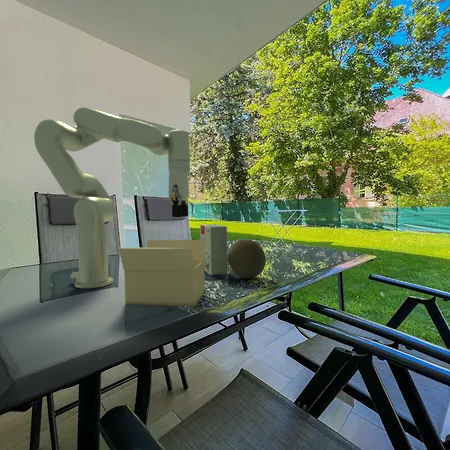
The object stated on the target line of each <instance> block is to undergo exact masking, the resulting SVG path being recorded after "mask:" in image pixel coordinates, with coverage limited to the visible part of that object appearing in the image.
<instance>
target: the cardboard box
mask: <svg viewBox="0 0 450 450" xmlns="http://www.w3.org/2000/svg"><path fill="white" fill-rule="evenodd" d="M193 266H194V271H156V270H124V292H125V293H124V295H125V305H138V306H139V305H142V306H145V305H146V306H167V307H168V306H170V307H171V306H172V307H173V306H174V307H177V306H178V307H195V306H196V305H197V303H199V301H200V300H201V298H202V296H203V294H204V293H205V289H206V288H205V287H206V284H205V283H206V282H205V276H206V275H205V270H204V261H193Z"/></svg>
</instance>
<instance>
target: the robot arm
mask: <svg viewBox="0 0 450 450" xmlns="http://www.w3.org/2000/svg"><path fill="white" fill-rule="evenodd" d="M73 122H74V124H75V127H74V128H73V127H71V126H69V125H67V124H66V123H65V122H64V123H63V122H62V121H59V120H55V119H44V120H42V121H40V122H39V123H38V124H37V126H36V128H35V129H34V130H35V131H34V134H33V136H34V137H33V139H34V140H33V141H34V147H35V149H36V151H37V153H38V155H39V156H40V159H42V161H43V162H44V163H45V165H46V166H47V168H48V169H49V171H50V172H51V174H52V176H53V177H54V179H55V180H56V182H57V183H58V185H59V186H60V188H61V189H62V191H63V192H64V194H65V195H66V196H68V197H70V198H75V199H78V200H77V201H76V203H75V204H74V206H73V217H74V221H75V225H76V230H77V231H76V235H77V250H78V251H77V253H78V254H77V255H78V271H77V272H76V271H75V272H74V271H73V272H72V273H71V274H70V276H69V277H70V279H76V281H75V282H74V287H75V288H78V289H95V288H101V287H106V286H108V285H111V284H112V283H113V282H114V278H113V277H111V276H109V255H108V234H107V233H108V232H107V228H106V225H105V223H108V222H110V221H112V220H113V219H114V218H115V216H116V213H117V209H116V205H115V202H114V200H112V198H111V196H110V195H109V193H108V192H107V190H106V189H105V187H104V185H103V184H102V182H100V180H99V179H98V178H97V177H95V176H94V175H92V174H89V173H85V172H83V171H82V170H81V169H80V167H79V166H78V164H77V163H76V162H75V159H74V158H73V157H72V156H71V155H70V154H69V153H68V151H69V152H79V151H81V150H82V151H83V150H84V149H86V148H88V147H90V146H93V145H94V144H96V143H98V142H101V141H102V140H104V139H105V140H108V141H111V142H114V143H120V142H127V143H131V144H133V145H137V146H141V147H143V148H146V149H147V150H149V151H150V152H152V154H154V155H156V156H157V155H158V156H162V155H167V159H168V160H167V161H168V162H167V164H168V166H167V167H168V172H169V173H168V174H169V175H168V198H169V199H170V200H171V217H172V218H182V217H189V198H190V188H189V186H190V185H189V184H190V183H189V173H190V172H191V159H190V158H191V157H190V155H191V154H190V153H191V152H190V135H189V133H188V131H186V130H181V129H173V130H170V131H169V132H168V134H167V133H163V131H162V130H161V129H160V128H159V127H157V126H155V125H152V124H149V123H146V122H143V121H140V120H136V119H131V118H125V117H124V118H122V117H121V116H120V117H119V116H115V115H114V114H109V113H106V112H103V111H100V110H97V109H94V108H91V107H80V108H77V109H76V110H75V111H74V114H73Z"/></svg>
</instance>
